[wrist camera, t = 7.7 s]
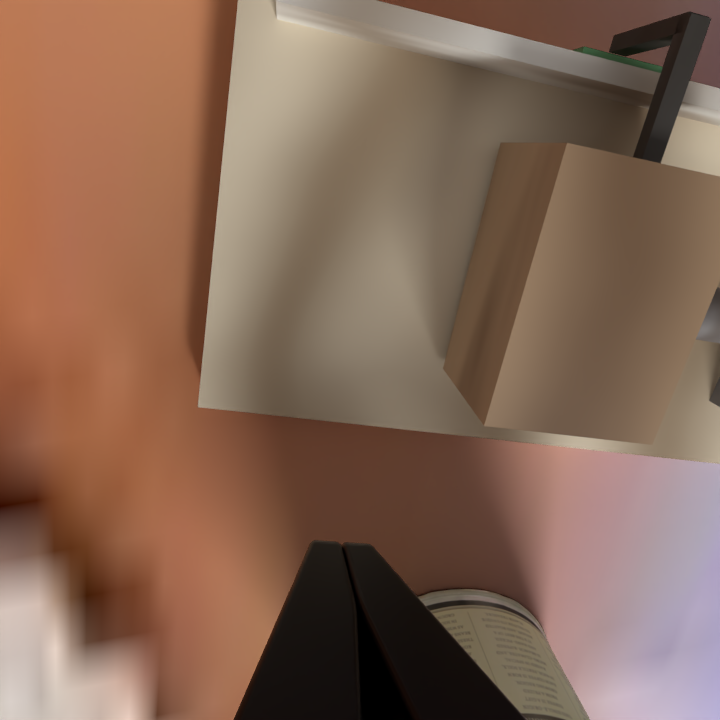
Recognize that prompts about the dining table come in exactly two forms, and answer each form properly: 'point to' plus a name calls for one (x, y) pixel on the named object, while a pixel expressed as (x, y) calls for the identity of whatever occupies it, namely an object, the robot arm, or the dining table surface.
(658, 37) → the gauge carriage
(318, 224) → the base
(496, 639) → the coffee can
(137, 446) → the dining table surface
